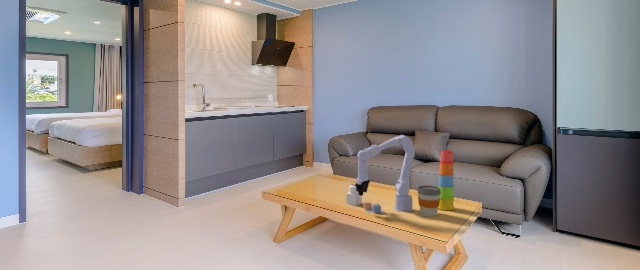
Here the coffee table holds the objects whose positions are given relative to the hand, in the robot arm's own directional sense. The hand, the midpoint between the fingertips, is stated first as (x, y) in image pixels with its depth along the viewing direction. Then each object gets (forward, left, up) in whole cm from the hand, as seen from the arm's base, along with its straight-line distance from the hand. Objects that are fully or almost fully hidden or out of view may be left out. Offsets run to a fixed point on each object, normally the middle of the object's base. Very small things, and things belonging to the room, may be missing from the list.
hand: (362, 193), depth 215 cm
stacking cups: (-50, +1, -10) cm, 51 cm away
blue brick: (-7, +5, -9) cm, 13 cm away
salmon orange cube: (-3, -1, -9) cm, 10 cm away
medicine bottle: (+3, -13, -10) cm, 16 cm away
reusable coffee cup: (-36, +10, -10) cm, 39 cm away
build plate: (-6, +2, -10) cm, 12 cm away
